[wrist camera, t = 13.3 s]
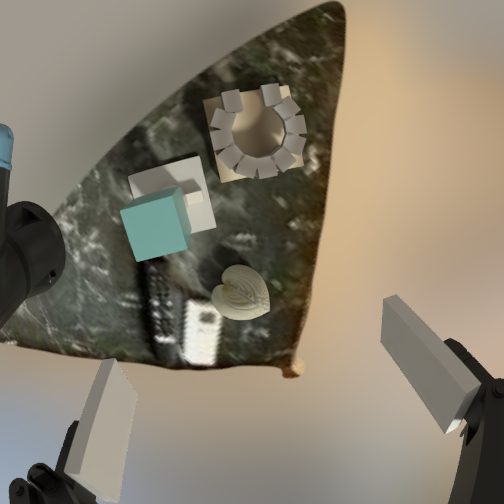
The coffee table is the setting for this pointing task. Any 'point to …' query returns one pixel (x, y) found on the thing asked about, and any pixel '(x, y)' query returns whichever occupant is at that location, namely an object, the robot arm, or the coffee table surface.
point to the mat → (188, 178)
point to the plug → (159, 221)
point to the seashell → (241, 294)
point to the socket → (255, 132)
